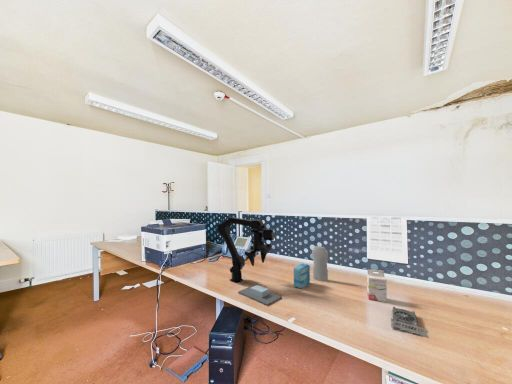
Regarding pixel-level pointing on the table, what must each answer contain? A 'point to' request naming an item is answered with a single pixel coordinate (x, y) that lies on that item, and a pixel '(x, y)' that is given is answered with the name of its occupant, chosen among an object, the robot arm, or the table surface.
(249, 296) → the mat
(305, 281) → the data package
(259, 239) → the robot arm
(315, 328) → the table surface
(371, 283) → the ink cartridge box
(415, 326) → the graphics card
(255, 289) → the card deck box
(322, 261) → the tall pale column
